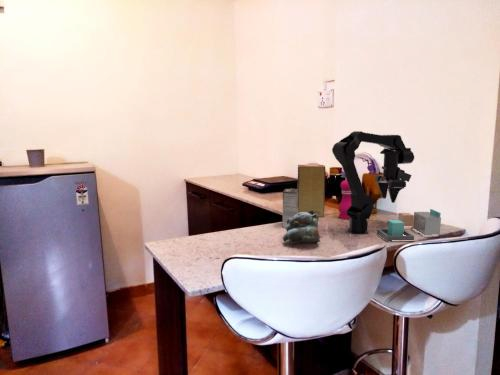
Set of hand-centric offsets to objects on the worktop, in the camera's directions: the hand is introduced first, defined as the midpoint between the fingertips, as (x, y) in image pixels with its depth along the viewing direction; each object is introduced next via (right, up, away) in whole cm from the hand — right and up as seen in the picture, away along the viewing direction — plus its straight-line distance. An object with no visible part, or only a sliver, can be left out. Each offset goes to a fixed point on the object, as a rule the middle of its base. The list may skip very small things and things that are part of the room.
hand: (388, 200), depth 157 cm
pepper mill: (-13, -9, +19) cm, 25 cm away
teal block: (-2, -14, -13) cm, 19 cm away
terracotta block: (+8, -12, +2) cm, 15 cm away
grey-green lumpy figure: (-41, -16, -19) cm, 47 cm away
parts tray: (-3, -14, -13) cm, 19 cm away
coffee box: (-42, -12, +6) cm, 44 cm away
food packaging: (-30, -8, +26) cm, 40 cm away
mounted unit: (+12, -13, -8) cm, 20 cm away
